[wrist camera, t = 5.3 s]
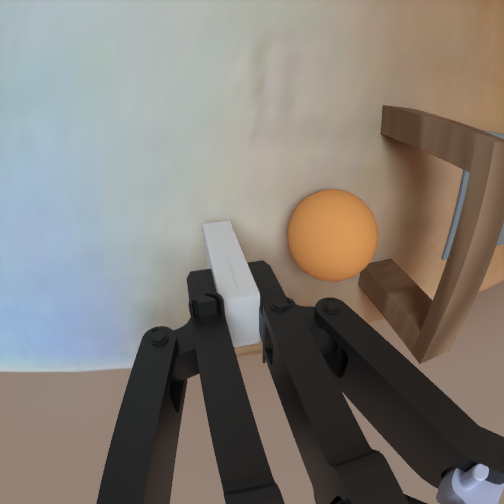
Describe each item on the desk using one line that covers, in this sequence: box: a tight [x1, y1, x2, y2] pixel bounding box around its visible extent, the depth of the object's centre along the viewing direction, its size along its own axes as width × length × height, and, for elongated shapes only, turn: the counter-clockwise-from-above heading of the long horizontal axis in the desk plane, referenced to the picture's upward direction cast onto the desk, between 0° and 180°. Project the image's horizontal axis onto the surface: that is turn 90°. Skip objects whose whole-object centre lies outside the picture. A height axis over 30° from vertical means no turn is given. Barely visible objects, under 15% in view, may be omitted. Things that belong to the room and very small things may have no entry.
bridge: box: [358, 105, 504, 364], centre depth 18 cm, size 3×14×9 cm, turn 1°
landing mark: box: [442, 130, 504, 260], centre depth 25 cm, size 13×13×1 cm
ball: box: [288, 189, 378, 281], centre depth 19 cm, size 6×6×6 cm
